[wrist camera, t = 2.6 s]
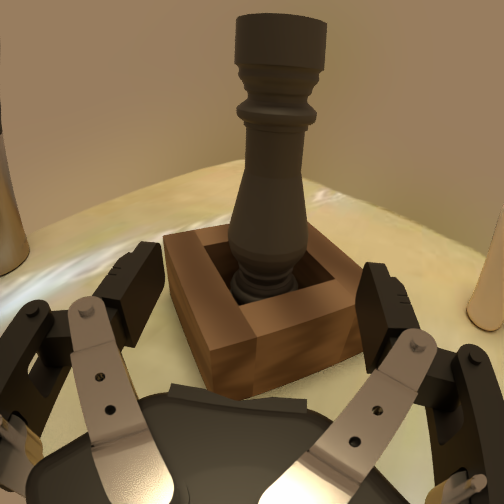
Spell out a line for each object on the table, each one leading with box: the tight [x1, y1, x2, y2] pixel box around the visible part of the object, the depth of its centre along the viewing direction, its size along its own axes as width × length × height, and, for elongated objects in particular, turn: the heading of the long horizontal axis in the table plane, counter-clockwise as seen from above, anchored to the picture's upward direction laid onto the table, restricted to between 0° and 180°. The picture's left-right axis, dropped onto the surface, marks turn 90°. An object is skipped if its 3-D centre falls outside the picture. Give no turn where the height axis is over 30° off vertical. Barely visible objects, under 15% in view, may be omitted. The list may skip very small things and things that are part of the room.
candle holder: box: [228, 13, 327, 306], centre depth 23 cm, size 6×6×25 cm
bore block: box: [163, 222, 363, 401], centre depth 28 cm, size 14×14×7 cm
